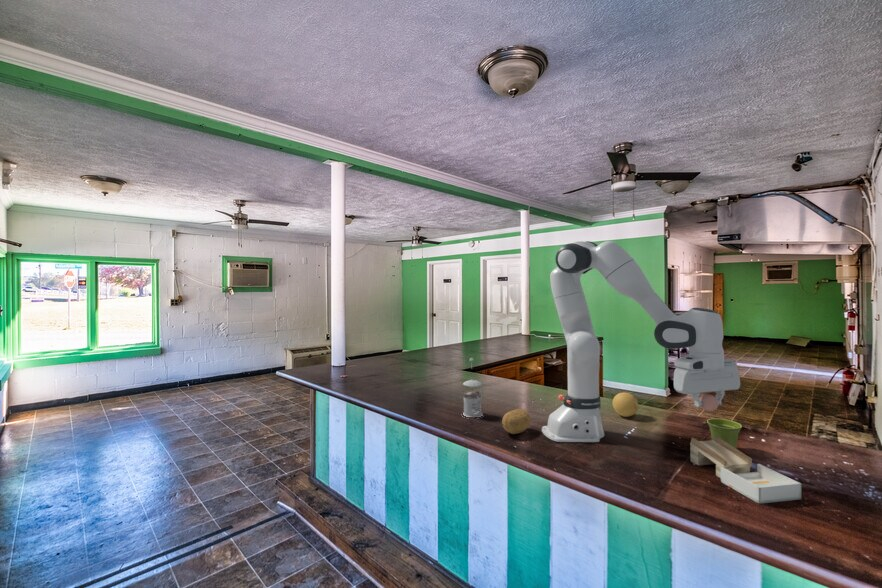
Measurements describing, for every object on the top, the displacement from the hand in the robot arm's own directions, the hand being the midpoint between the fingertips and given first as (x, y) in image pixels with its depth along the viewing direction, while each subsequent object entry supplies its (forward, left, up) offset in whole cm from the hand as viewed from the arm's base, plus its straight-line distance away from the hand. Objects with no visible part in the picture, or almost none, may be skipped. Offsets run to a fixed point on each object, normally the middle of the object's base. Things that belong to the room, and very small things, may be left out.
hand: (707, 405), depth 118 cm
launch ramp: (0, -4, -18) cm, 18 cm away
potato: (-50, +35, -18) cm, 64 cm away
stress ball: (+1, +44, -18) cm, 48 cm away
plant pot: (+13, +8, -18) cm, 24 cm away
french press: (-61, +59, -18) cm, 87 cm away
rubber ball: (0, 0, -2) cm, 2 cm away
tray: (0, -16, -18) cm, 24 cm away
